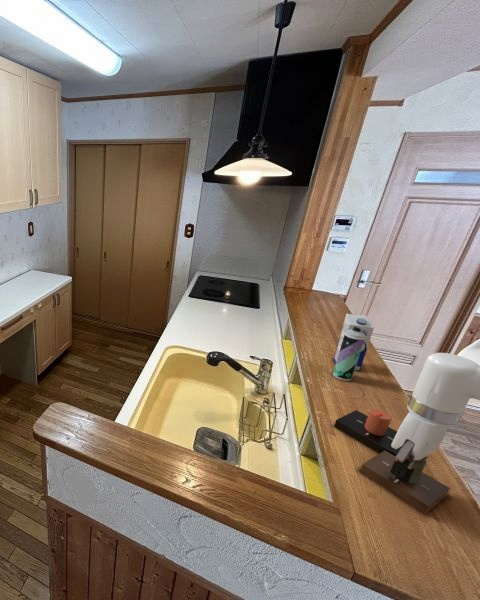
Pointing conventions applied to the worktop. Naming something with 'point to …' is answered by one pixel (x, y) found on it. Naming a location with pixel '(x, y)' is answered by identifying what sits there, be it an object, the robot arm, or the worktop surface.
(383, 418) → the dial knob
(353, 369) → the spray can
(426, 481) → the brown dial base plate
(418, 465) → the green rotary knob near
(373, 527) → the worktop surface
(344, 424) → the black dial base plate
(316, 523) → the worktop surface
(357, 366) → the milk carton
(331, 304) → the worktop surface
